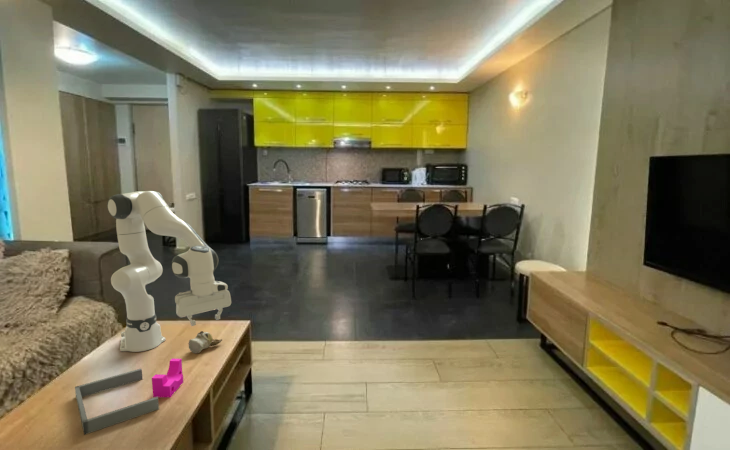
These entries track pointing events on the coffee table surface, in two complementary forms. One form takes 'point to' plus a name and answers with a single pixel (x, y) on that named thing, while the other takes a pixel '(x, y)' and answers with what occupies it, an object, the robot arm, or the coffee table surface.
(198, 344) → the ceramic sculpture
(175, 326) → the coffee table surface
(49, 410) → the coffee table surface
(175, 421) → the coffee table surface
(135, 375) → the box
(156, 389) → the magenta curved bracket
